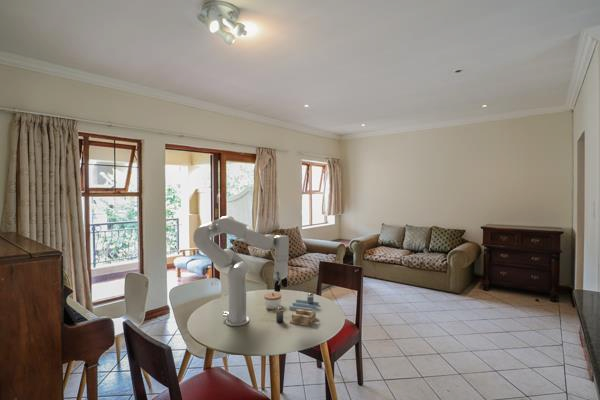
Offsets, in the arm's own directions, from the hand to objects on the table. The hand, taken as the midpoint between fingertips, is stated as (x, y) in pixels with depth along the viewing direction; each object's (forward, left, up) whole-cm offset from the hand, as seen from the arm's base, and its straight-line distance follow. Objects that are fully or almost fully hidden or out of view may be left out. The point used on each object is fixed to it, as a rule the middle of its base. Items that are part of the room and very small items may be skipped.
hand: (280, 288), depth 163 cm
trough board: (+6, +23, -19) cm, 30 cm away
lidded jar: (-13, +18, -19) cm, 29 cm away
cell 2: (+9, +26, -18) cm, 32 cm away
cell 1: (-1, +1, -19) cm, 19 cm away
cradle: (+11, +6, -19) cm, 22 cm away
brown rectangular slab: (+11, +6, -16) cm, 20 cm away
